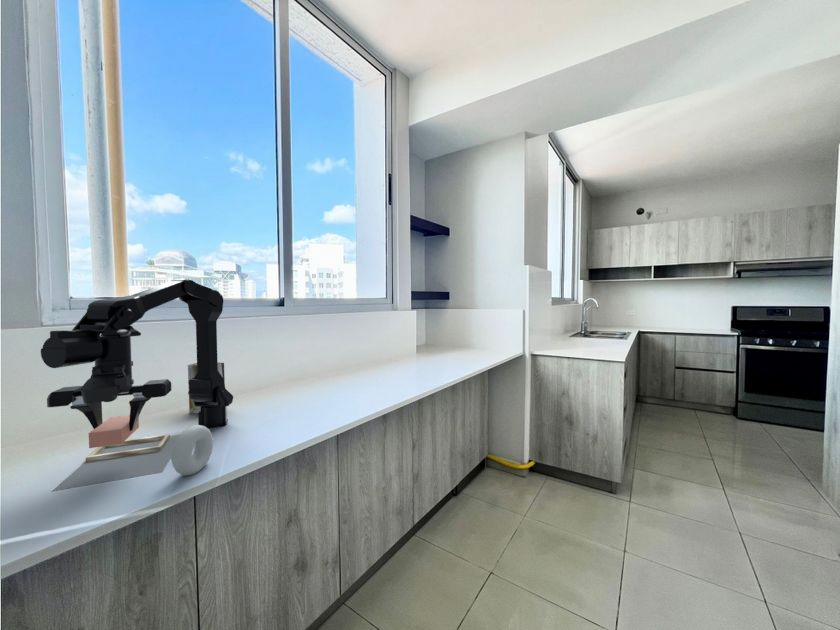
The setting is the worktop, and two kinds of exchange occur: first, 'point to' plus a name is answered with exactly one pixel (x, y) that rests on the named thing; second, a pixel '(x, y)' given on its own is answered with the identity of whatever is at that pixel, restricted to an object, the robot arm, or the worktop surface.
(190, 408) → the coffee box
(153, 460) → the mat
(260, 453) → the worktop surface
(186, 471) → the donut
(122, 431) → the card deck
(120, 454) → the slot frame
